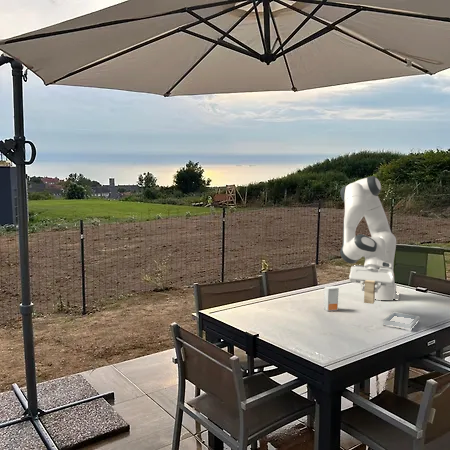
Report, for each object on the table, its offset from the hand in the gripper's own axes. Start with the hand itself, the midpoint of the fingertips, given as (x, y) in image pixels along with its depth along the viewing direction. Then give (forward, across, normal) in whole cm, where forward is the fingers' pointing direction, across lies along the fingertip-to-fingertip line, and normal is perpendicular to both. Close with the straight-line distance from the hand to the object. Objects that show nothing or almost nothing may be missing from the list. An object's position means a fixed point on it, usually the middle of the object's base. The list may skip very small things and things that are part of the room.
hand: (369, 291), depth 194 cm
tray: (+5, +14, +17) cm, 23 cm away
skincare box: (+2, -21, +21) cm, 30 cm away
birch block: (+3, 0, +4) cm, 5 cm away
